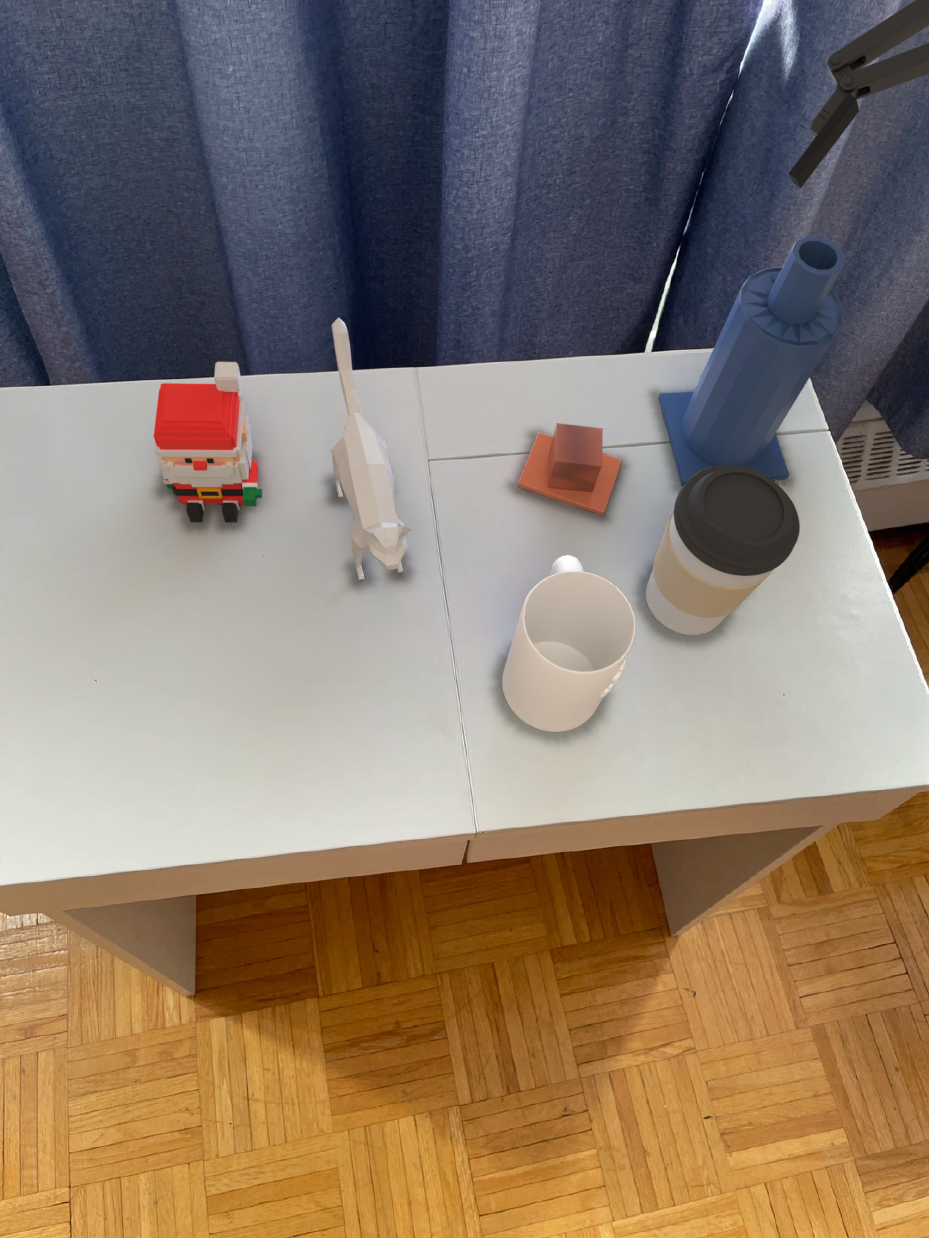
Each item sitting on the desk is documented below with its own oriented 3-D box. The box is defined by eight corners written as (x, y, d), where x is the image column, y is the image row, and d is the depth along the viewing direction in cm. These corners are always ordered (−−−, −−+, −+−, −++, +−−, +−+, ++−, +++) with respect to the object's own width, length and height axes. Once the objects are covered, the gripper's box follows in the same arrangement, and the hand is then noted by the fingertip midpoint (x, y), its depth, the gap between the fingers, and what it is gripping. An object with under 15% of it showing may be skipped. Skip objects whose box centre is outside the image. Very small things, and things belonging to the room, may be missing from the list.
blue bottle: (784, 444, 86) (895, 270, 67) (720, 482, 84) (817, 312, 65) (727, 385, 89) (819, 201, 70) (663, 420, 86) (741, 240, 67)
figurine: (162, 522, 78) (127, 436, 68) (170, 453, 82) (137, 359, 71) (265, 523, 79) (247, 437, 68) (269, 454, 82) (252, 361, 71)
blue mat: (759, 391, 89) (761, 387, 89) (787, 479, 85) (789, 475, 85) (658, 397, 88) (660, 393, 88) (681, 485, 84) (683, 482, 84)
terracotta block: (593, 455, 84) (602, 427, 80) (592, 492, 82) (602, 466, 79) (549, 450, 84) (556, 422, 80) (547, 487, 82) (554, 461, 79)
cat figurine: (365, 626, 76) (360, 538, 63) (319, 428, 84) (307, 315, 71) (419, 615, 77) (425, 526, 64) (368, 421, 85) (365, 307, 72)
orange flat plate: (621, 463, 85) (622, 459, 84) (603, 516, 82) (604, 512, 82) (537, 435, 85) (538, 431, 85) (517, 486, 83) (517, 483, 82)
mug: (601, 600, 78) (635, 525, 68) (605, 736, 73) (643, 678, 62) (503, 593, 78) (522, 517, 67) (500, 729, 73) (520, 670, 62)
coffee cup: (661, 534, 82) (715, 429, 68) (755, 584, 80) (829, 487, 67) (615, 612, 78) (662, 517, 65) (712, 666, 76) (781, 581, 63)
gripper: (1242, 64, 64) (1000, 331, 72) (937, -106, 70) (747, 157, 78) (1278, 15, 57) (1006, 315, 65) (937, -167, 63) (729, 126, 72)
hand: (864, 229), depth 72 cm, fingers open, 13 cm apart
